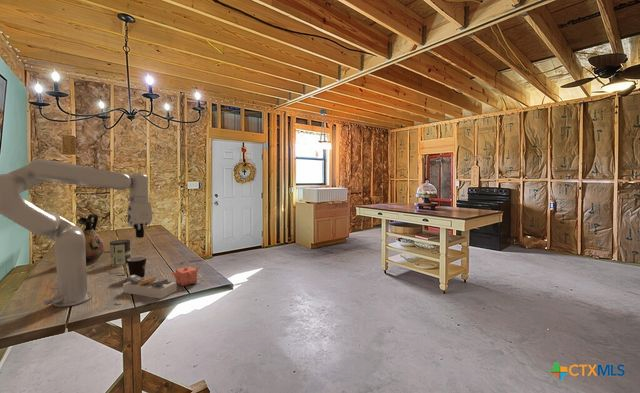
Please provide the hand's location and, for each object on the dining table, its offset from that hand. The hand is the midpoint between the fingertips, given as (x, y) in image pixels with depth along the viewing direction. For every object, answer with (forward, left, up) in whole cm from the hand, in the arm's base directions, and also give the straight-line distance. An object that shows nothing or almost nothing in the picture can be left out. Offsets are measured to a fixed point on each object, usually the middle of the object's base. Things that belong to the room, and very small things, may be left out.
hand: (139, 237), depth 136 cm
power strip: (-4, -7, -24) cm, 26 cm away
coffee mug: (+11, +13, -25) cm, 30 cm away
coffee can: (+24, +43, -25) cm, 55 cm away
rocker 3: (-5, -17, -19) cm, 26 cm away
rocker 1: (-5, -3, -19) cm, 20 cm away
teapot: (+10, -18, -25) cm, 32 cm away
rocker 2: (-5, -10, -19) cm, 22 cm away
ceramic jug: (+22, +66, -25) cm, 74 cm away
